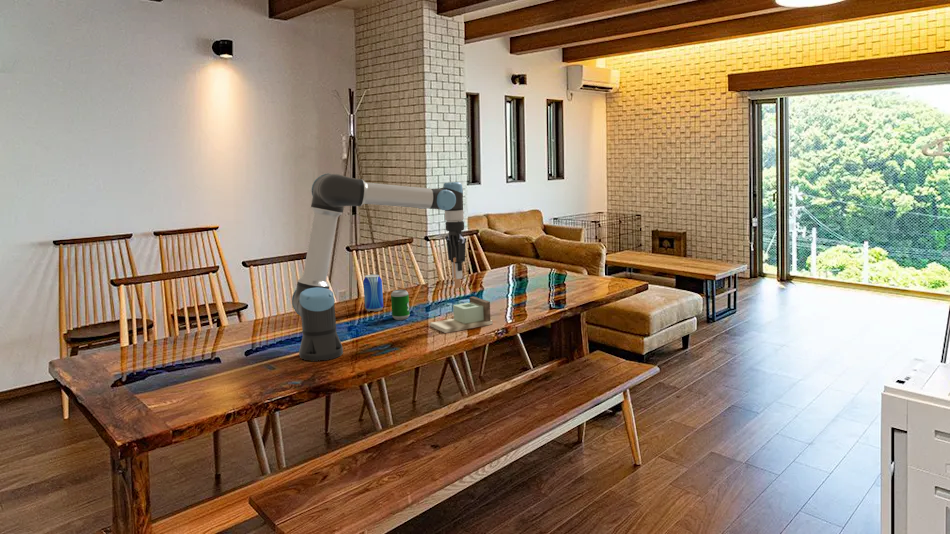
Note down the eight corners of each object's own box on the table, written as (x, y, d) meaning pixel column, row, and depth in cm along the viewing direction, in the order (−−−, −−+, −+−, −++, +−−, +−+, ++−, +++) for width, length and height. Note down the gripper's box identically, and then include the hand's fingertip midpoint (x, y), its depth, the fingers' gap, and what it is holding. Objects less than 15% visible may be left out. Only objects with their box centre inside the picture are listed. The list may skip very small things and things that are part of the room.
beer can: (364, 308, 297) (361, 275, 294) (381, 307, 299) (379, 273, 297) (366, 312, 289) (364, 278, 286) (384, 310, 291) (382, 276, 289)
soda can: (406, 320, 272) (405, 292, 270) (389, 320, 274) (388, 292, 272) (411, 316, 279) (410, 289, 277) (395, 315, 281) (393, 289, 279)
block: (464, 323, 256) (464, 309, 255) (453, 319, 264) (453, 305, 263) (483, 320, 261) (483, 305, 260) (472, 316, 268) (472, 302, 267)
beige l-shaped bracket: (445, 333, 250) (444, 309, 248) (430, 326, 261) (429, 303, 259) (492, 324, 261) (491, 301, 259) (476, 317, 272) (475, 296, 270)
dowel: (456, 287, 260) (455, 258, 258) (453, 287, 262) (452, 258, 260) (462, 287, 261) (460, 258, 259) (458, 286, 263) (457, 257, 261)
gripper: (472, 221, 252) (474, 279, 256) (453, 218, 265) (456, 274, 269) (455, 222, 248) (458, 282, 252) (437, 220, 261) (440, 276, 265)
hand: (457, 278), depth 261 cm, fingers closed on dowel, 2 cm apart
